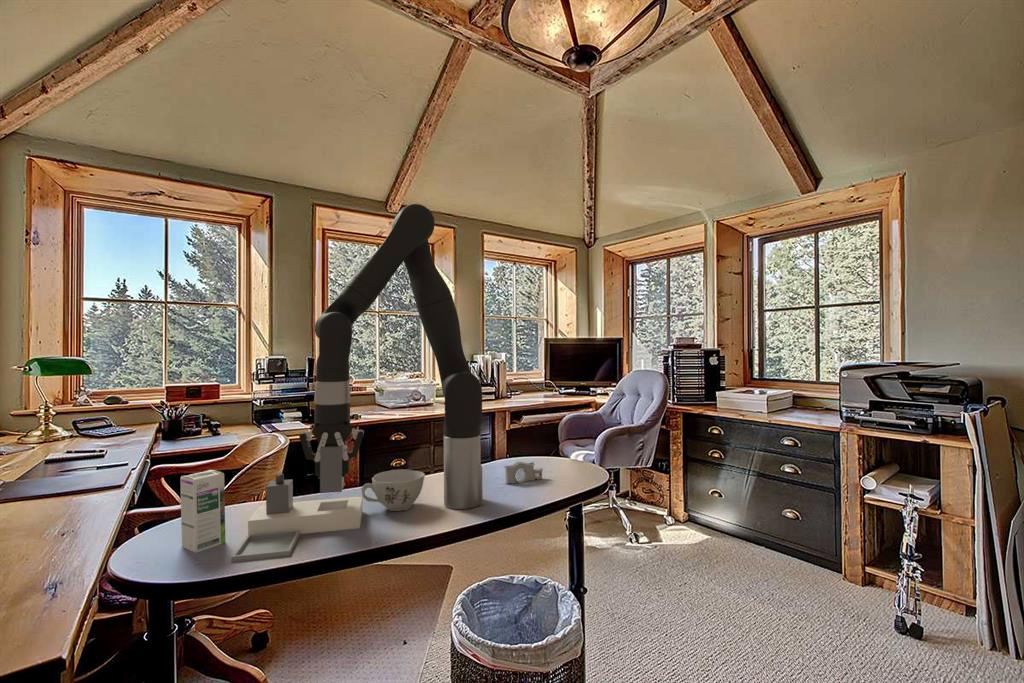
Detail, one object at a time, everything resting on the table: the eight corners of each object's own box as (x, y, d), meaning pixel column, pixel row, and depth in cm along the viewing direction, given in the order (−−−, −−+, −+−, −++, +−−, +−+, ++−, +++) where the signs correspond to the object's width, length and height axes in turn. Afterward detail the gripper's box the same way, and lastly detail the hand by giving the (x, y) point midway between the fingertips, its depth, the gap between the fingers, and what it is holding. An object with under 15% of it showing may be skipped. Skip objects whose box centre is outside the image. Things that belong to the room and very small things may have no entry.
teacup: (418, 496, 125) (418, 466, 125) (430, 511, 113) (430, 478, 113) (358, 504, 119) (358, 472, 119) (364, 521, 107) (364, 486, 107)
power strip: (362, 513, 113) (362, 463, 113) (359, 529, 103) (359, 475, 103) (261, 522, 107) (260, 470, 107) (248, 540, 98) (247, 483, 98)
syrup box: (195, 554, 91) (194, 479, 91) (180, 547, 94) (179, 474, 94) (225, 543, 96) (225, 472, 96) (211, 537, 99) (210, 468, 99)
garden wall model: (540, 477, 141) (540, 458, 141) (543, 479, 139) (543, 459, 139) (504, 483, 136) (504, 462, 136) (506, 485, 134) (506, 464, 134)
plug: (343, 485, 109) (344, 435, 109) (341, 491, 105) (342, 439, 105) (323, 487, 108) (323, 436, 108) (320, 493, 104) (320, 440, 104)
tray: (299, 536, 100) (299, 530, 100) (289, 556, 90) (289, 550, 90) (247, 541, 97) (247, 535, 97) (231, 563, 88) (231, 556, 88)
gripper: (366, 398, 112) (366, 470, 112) (301, 399, 108) (301, 474, 108) (364, 402, 105) (364, 479, 105) (294, 404, 101) (294, 484, 101)
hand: (332, 476), depth 107 cm, fingers closed on plug, 4 cm apart
